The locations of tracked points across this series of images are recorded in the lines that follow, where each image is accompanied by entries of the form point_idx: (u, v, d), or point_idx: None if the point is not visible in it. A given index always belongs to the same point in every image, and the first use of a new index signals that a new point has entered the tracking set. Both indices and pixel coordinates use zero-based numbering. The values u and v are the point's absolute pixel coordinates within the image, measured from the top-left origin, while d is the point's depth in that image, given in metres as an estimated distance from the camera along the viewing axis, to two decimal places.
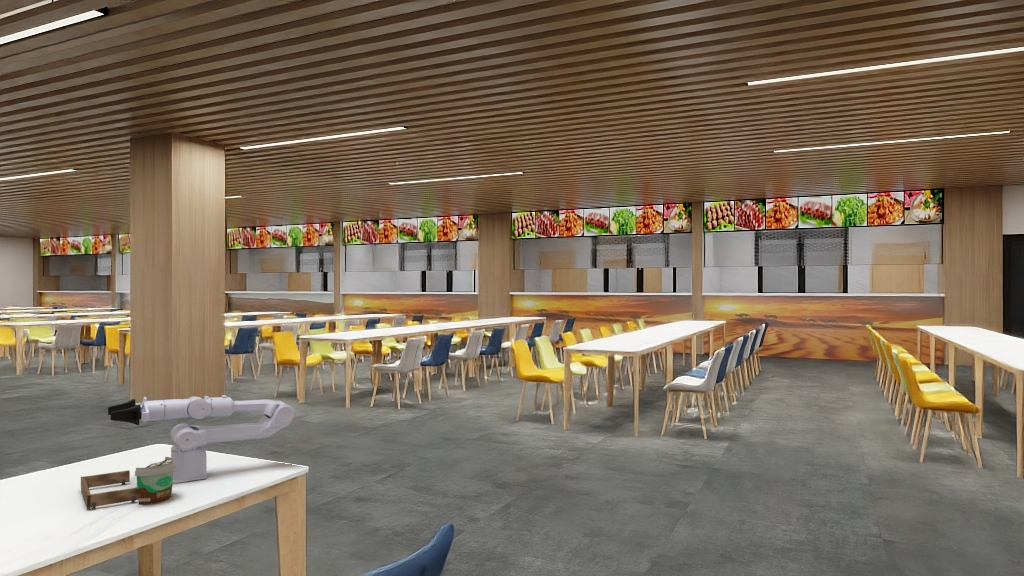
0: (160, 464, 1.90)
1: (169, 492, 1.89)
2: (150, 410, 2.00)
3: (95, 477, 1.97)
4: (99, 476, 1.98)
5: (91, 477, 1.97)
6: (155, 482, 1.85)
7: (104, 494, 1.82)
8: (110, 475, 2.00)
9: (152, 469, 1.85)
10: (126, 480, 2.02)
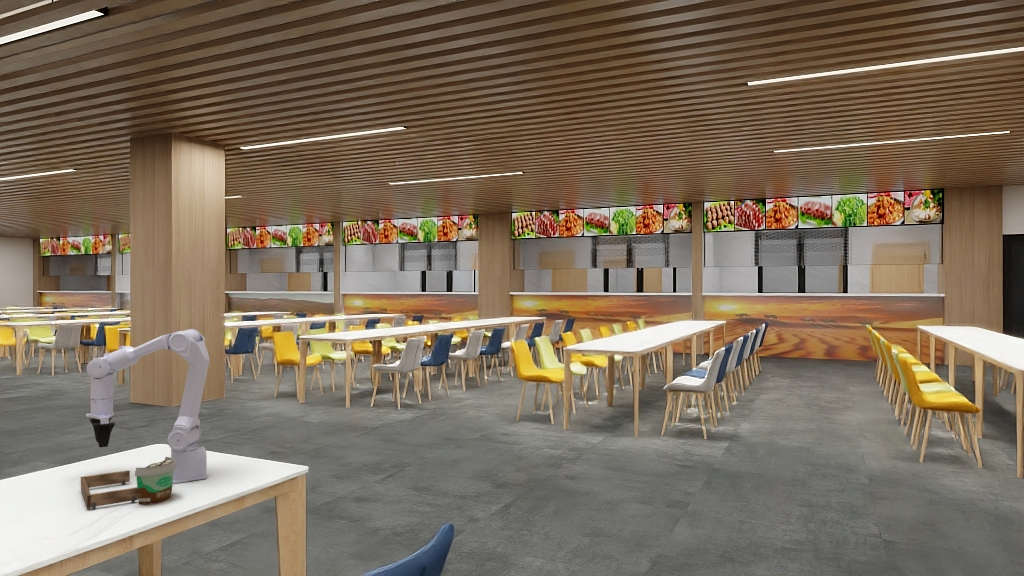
0: (160, 464, 1.90)
1: (169, 492, 1.89)
2: (100, 412, 2.04)
3: (95, 477, 1.97)
4: (99, 476, 1.98)
5: (91, 477, 1.97)
6: (155, 482, 1.85)
7: (104, 494, 1.82)
8: (110, 475, 2.00)
9: (152, 469, 1.85)
10: (126, 480, 2.02)
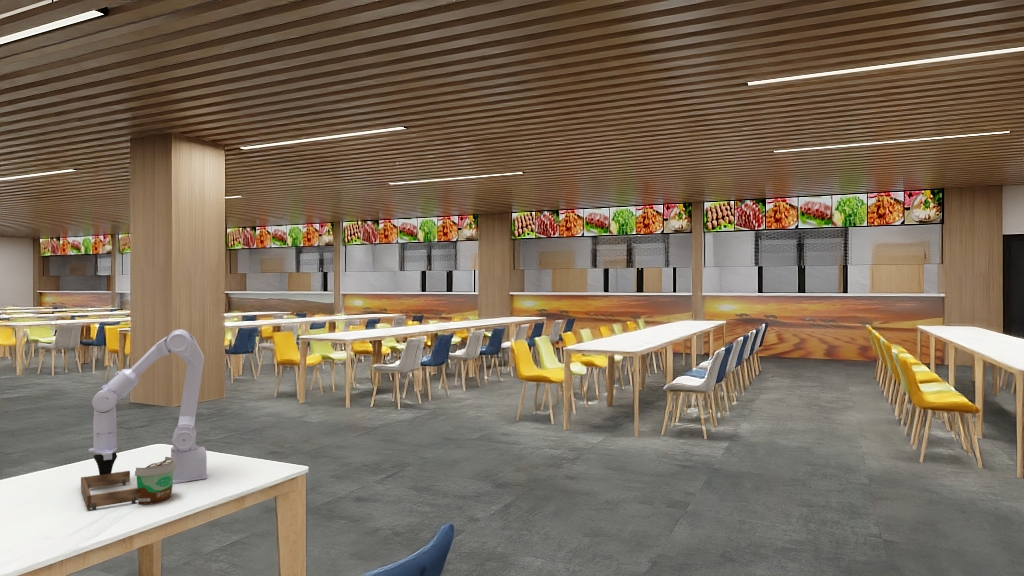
0: (160, 464, 1.90)
1: (169, 492, 1.89)
2: (103, 447, 1.97)
3: (95, 478, 1.97)
4: (99, 476, 1.98)
5: (91, 477, 1.96)
6: (155, 482, 1.85)
7: (104, 495, 1.82)
8: (110, 475, 1.99)
9: (152, 469, 1.85)
10: (126, 480, 2.02)
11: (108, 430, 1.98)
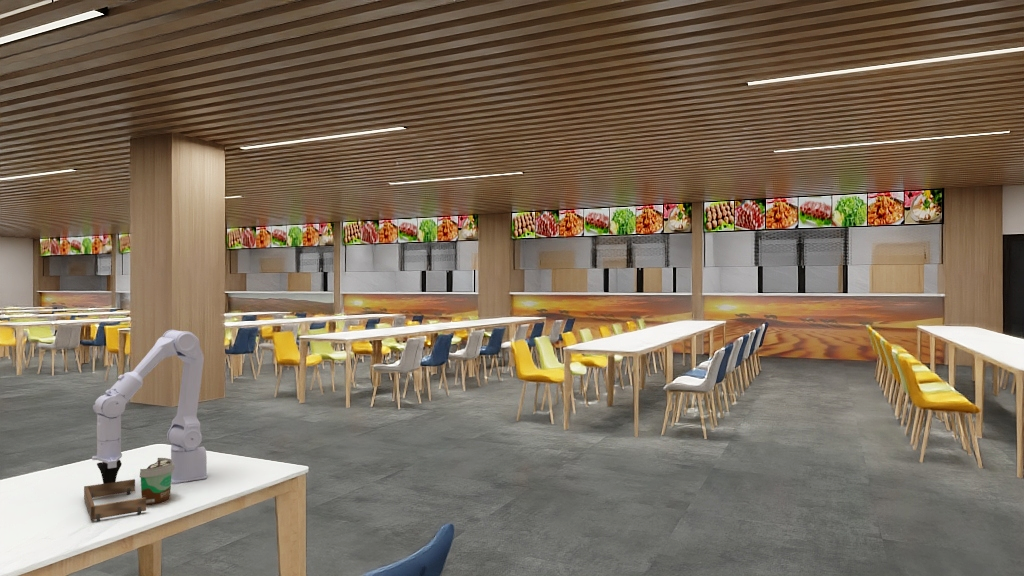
0: (159, 465, 1.89)
1: (169, 492, 1.90)
2: (107, 454, 1.89)
3: (99, 487, 1.89)
4: (103, 485, 1.89)
5: (95, 486, 1.88)
6: (160, 482, 1.85)
7: (109, 505, 1.74)
8: (114, 484, 1.91)
9: (157, 469, 1.84)
10: (131, 489, 1.93)
11: (117, 436, 1.91)
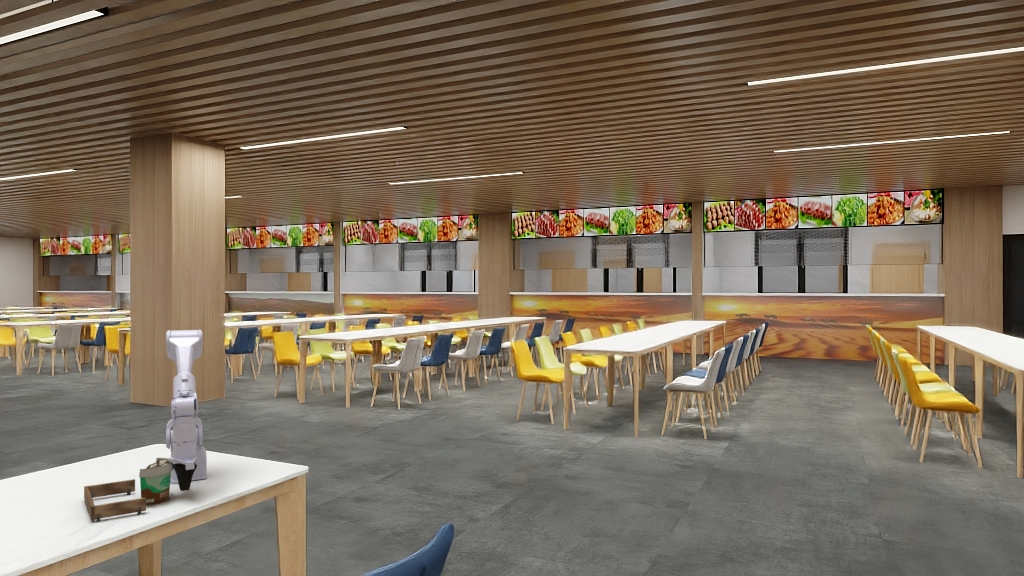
0: (158, 465, 1.89)
1: None
2: (184, 456, 1.90)
3: (99, 487, 1.89)
4: (103, 485, 1.89)
5: (95, 487, 1.88)
6: (159, 482, 1.85)
7: (109, 505, 1.74)
8: (114, 484, 1.91)
9: (157, 469, 1.84)
10: (131, 489, 1.93)
11: None
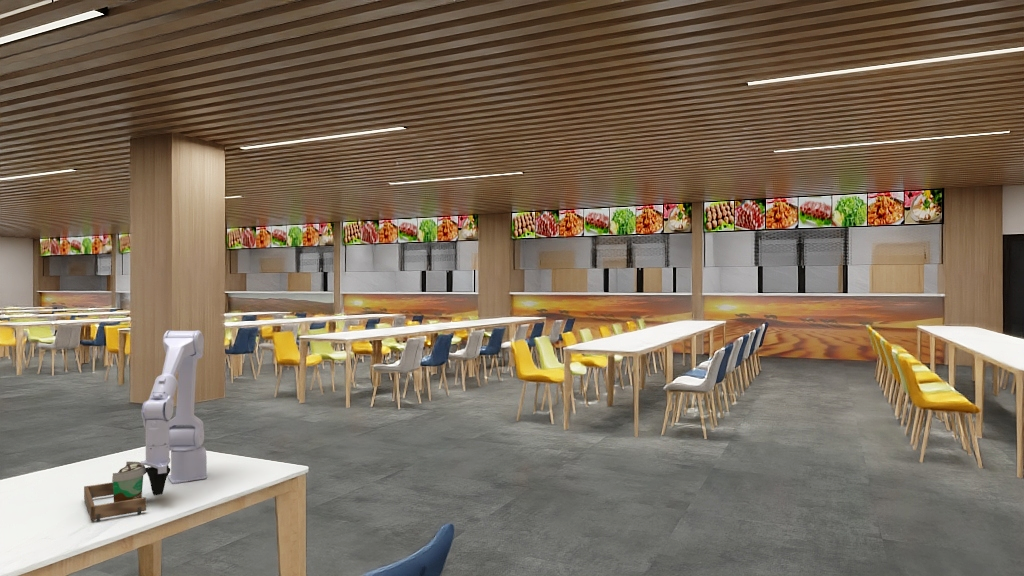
0: (129, 468, 1.85)
1: (141, 496, 1.86)
2: (156, 459, 1.86)
3: (99, 487, 1.89)
4: (103, 485, 1.89)
5: (95, 487, 1.88)
6: (132, 486, 1.82)
7: (109, 505, 1.74)
8: None
9: (130, 473, 1.81)
10: None
11: None
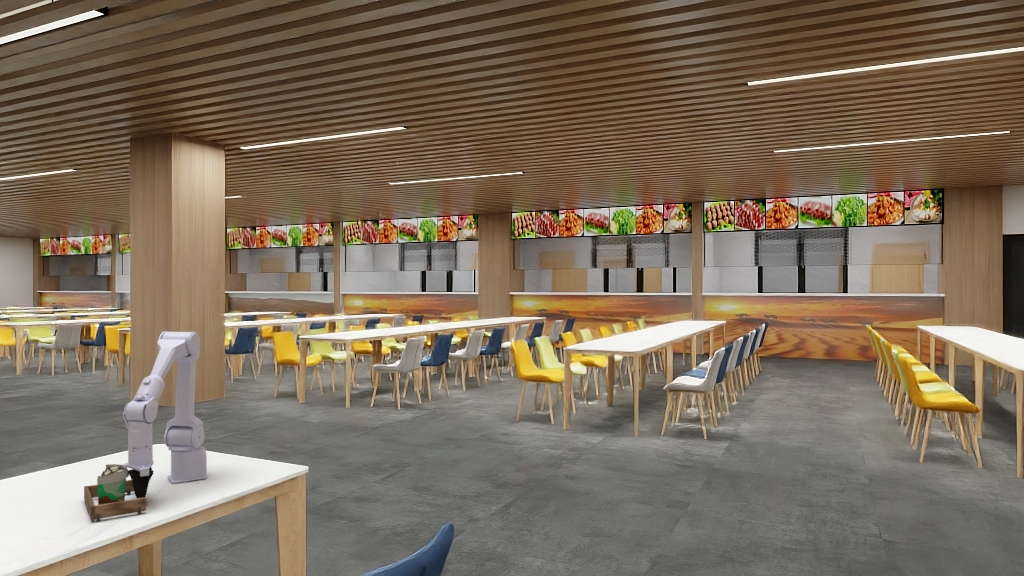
0: (111, 471, 1.83)
1: (124, 498, 1.84)
2: (139, 462, 1.83)
3: None
4: None
5: (95, 487, 1.88)
6: (117, 488, 1.80)
7: (109, 505, 1.74)
8: None
9: (115, 475, 1.79)
10: (131, 489, 1.93)
11: None
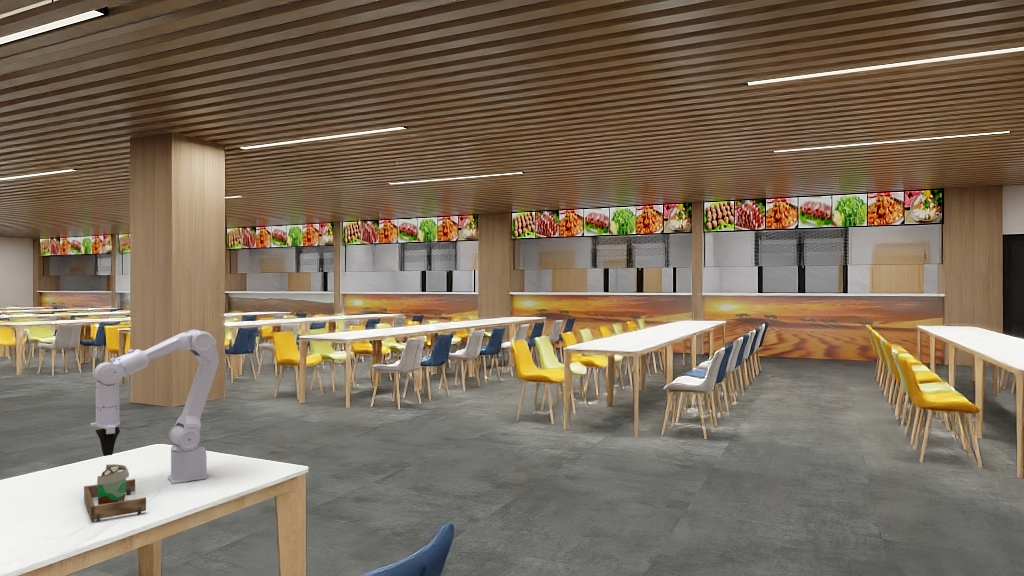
0: (112, 471, 1.83)
1: (124, 498, 1.84)
2: (106, 421, 1.92)
3: None
4: None
5: (95, 487, 1.88)
6: (117, 489, 1.80)
7: (109, 505, 1.74)
8: None
9: (115, 475, 1.79)
10: (131, 489, 1.93)
11: (114, 403, 1.93)
